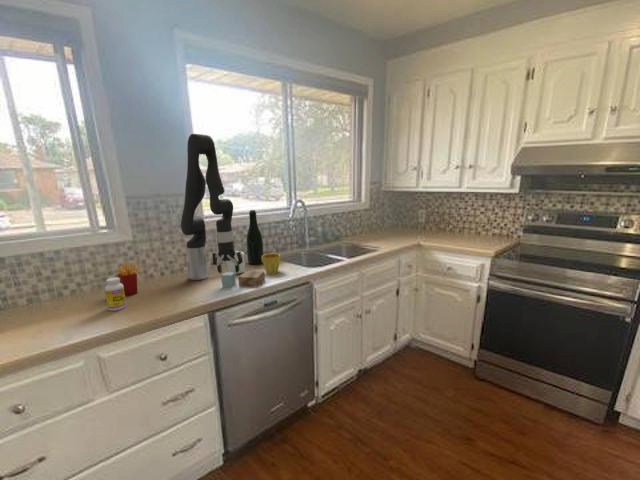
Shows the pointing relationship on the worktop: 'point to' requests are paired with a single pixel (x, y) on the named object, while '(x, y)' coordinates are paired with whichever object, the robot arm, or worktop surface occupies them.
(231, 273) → the teal block
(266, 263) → the plant pot
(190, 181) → the robot arm
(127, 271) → the french fries
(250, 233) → the beer bottle
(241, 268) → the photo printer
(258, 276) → the walnut block
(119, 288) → the supplement bottle
